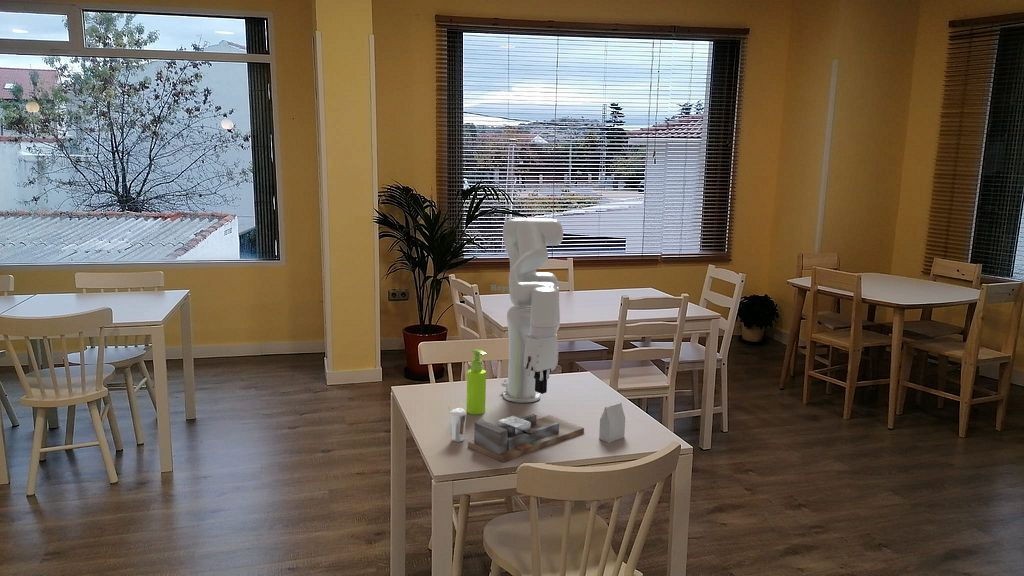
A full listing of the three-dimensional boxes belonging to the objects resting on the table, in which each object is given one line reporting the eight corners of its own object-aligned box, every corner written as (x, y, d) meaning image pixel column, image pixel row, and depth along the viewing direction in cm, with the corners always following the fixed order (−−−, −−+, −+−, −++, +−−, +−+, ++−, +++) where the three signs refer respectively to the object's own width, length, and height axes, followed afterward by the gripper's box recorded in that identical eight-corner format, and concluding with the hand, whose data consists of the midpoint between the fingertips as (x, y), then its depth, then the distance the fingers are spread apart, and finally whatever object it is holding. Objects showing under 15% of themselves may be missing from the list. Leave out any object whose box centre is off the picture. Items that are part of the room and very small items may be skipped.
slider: (512, 432, 211) (513, 415, 210) (538, 442, 204) (538, 425, 203) (489, 439, 205) (489, 422, 204) (515, 450, 198) (515, 432, 197)
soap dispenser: (476, 416, 229) (477, 354, 225) (462, 410, 234) (463, 349, 230) (491, 412, 232) (492, 351, 229) (477, 406, 237) (478, 346, 234)
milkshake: (448, 436, 212) (448, 403, 210) (466, 437, 212) (467, 403, 210) (446, 442, 207) (446, 408, 205) (465, 443, 207) (466, 409, 205)
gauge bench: (549, 419, 227) (550, 396, 226) (583, 432, 217) (585, 408, 216) (467, 446, 204) (468, 420, 203) (502, 462, 195) (503, 435, 193)
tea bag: (624, 437, 215) (626, 404, 213) (608, 442, 210) (610, 409, 209) (614, 433, 217) (616, 401, 216) (599, 438, 213) (600, 405, 211)
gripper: (551, 323, 217) (548, 383, 221) (515, 332, 207) (513, 394, 211) (570, 329, 212) (567, 389, 216) (534, 338, 201) (531, 401, 205)
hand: (540, 391), depth 213 cm, fingers closed
